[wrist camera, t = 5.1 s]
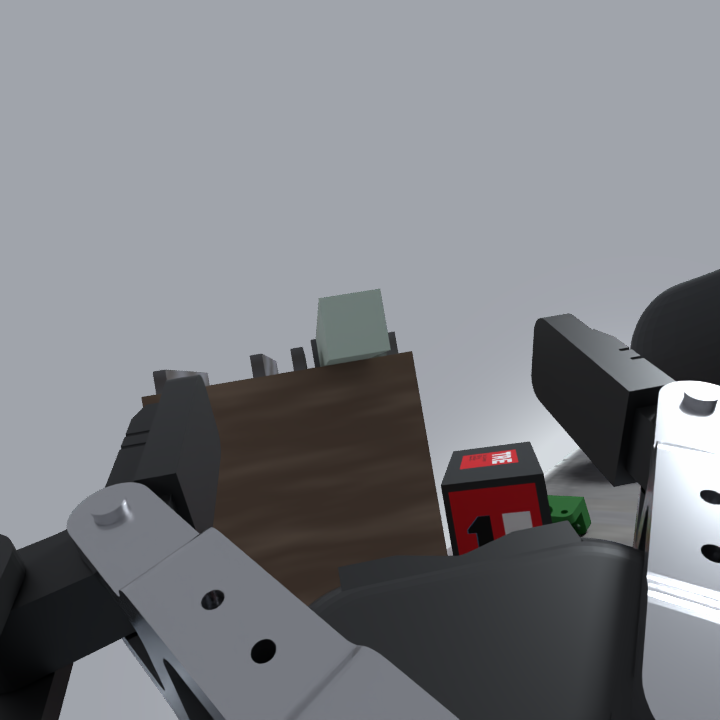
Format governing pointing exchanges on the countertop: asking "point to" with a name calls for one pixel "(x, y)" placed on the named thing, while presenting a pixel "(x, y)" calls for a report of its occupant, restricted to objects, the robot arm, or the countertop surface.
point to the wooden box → (323, 466)
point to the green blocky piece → (570, 512)
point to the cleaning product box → (493, 494)
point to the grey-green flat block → (350, 328)
